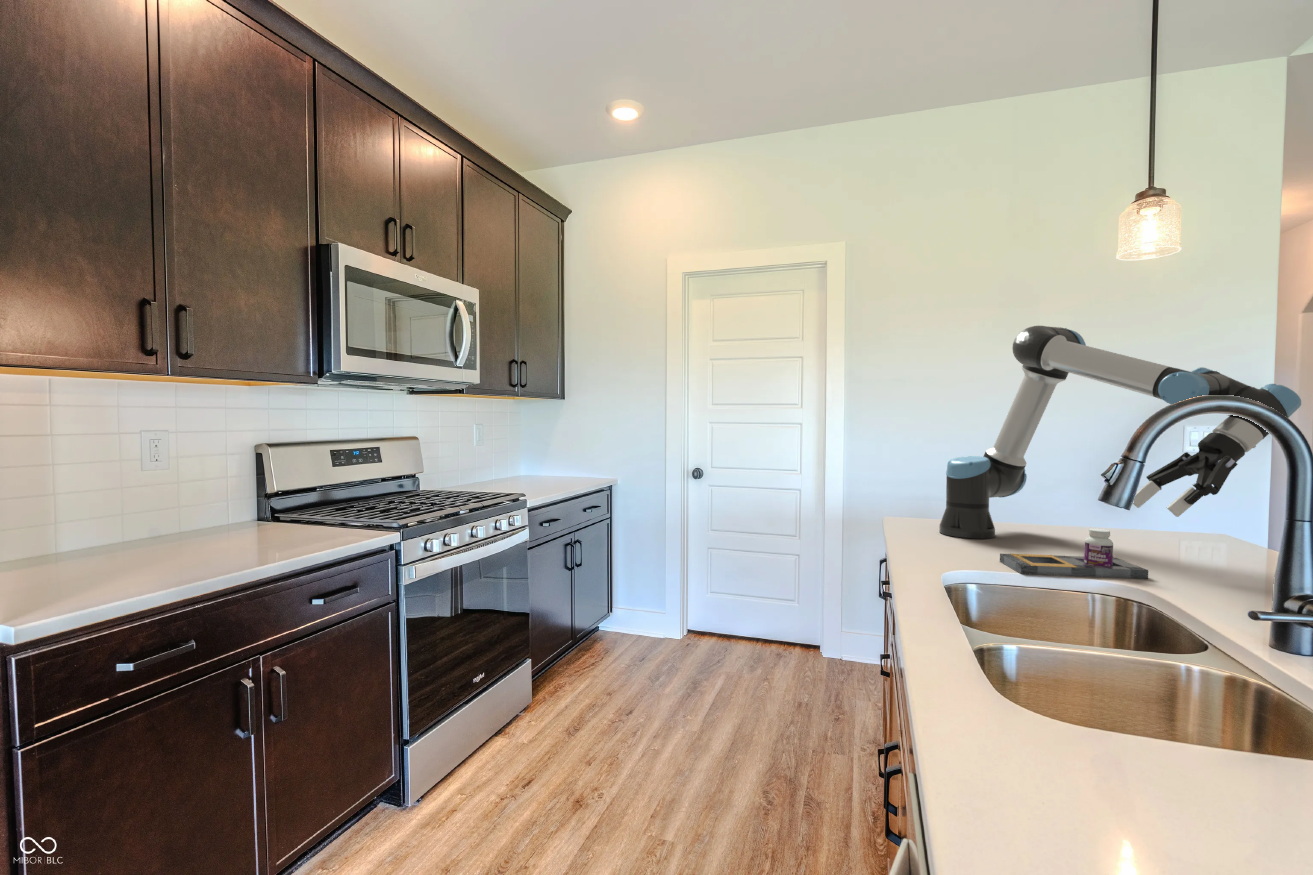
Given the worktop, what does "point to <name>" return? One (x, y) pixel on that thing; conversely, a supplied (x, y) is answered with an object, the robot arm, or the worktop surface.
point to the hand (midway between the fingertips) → (1151, 507)
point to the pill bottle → (1098, 548)
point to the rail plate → (1070, 566)
